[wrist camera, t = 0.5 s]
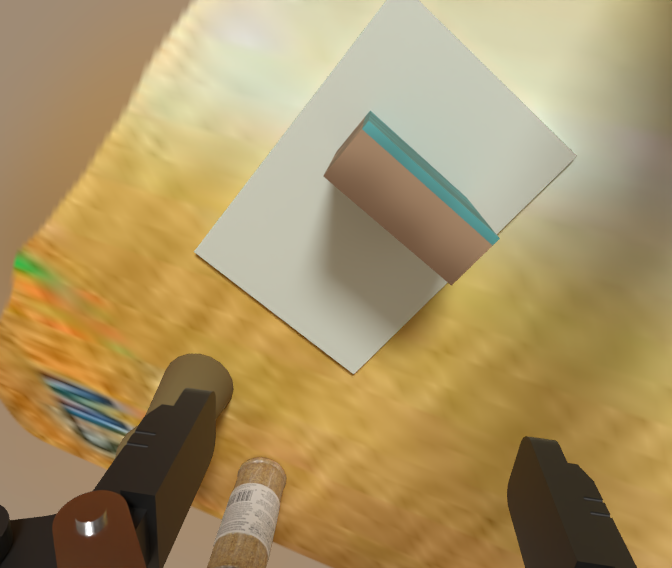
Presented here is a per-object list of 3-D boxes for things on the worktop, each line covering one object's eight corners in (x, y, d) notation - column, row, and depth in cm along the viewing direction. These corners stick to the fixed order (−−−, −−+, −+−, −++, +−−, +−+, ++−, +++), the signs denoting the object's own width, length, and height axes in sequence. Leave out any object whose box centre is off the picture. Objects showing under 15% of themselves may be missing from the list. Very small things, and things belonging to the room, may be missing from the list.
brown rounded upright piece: (176, 342, 42) (113, 425, 32) (243, 371, 43) (202, 462, 32) (155, 396, 44) (89, 490, 34) (219, 423, 45) (173, 524, 35)
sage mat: (399, -17, 31) (400, -19, 31) (574, 154, 34) (577, 155, 34) (196, 249, 39) (193, 251, 38) (353, 371, 42) (353, 374, 41)
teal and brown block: (370, 110, 34) (368, 120, 24) (466, 197, 35) (499, 238, 26) (336, 151, 35) (323, 176, 26) (431, 233, 37) (451, 285, 27)
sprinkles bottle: (246, 495, 48) (200, 641, 35) (233, 457, 46) (181, 596, 34) (292, 490, 47) (263, 638, 35) (281, 451, 45) (246, 591, 33)
